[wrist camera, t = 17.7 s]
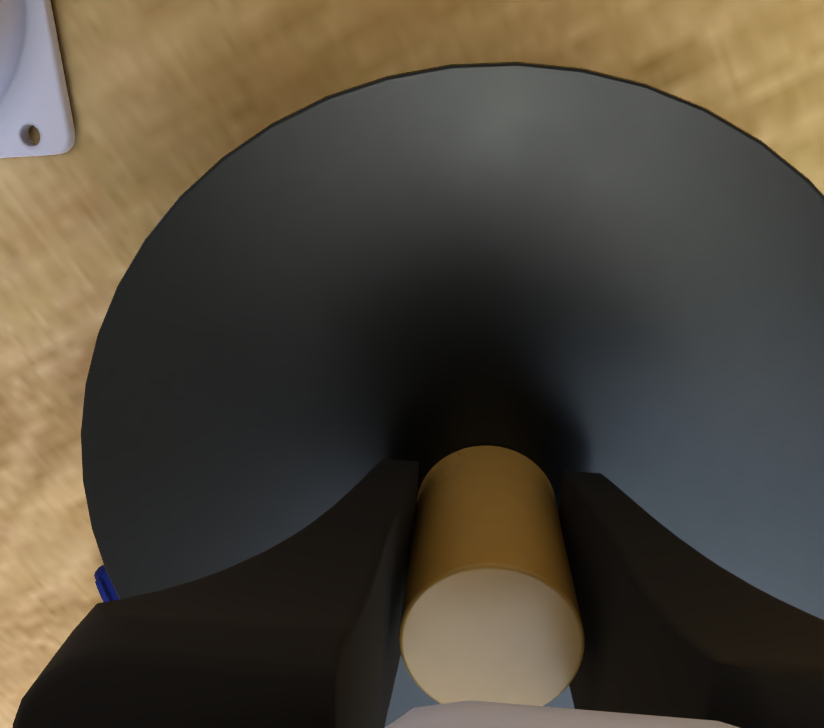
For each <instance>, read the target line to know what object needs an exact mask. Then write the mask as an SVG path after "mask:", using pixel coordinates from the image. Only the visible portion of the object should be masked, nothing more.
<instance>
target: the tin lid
mask: <svg viewBox="0 0 824 728" xmlns="http://www.w3.org/2000/svg"><path fill="white" fill-rule="evenodd" d="M81 445H82V466H83V483H84V488H85V494H86V499H87V504H88V510H89V515H90V520H91V526H92V530H93V533H94V536H95V539H96V542H97V545H98V548H99V551H100V554H101V557H102V560H103V563H104V566H105V569H106V572H107V574H108V576H109V578H110V580H111V582H112V584H113V586H114V588H115V591H116V593H117V595H118V597H119V599H123V598H128V597H132V596H137V595H142V594H146V593H151V592H155V591H160V590H163V589H167V588H171V587H174V586H178V585H181V584H184V583H187V582H191V581H194V580H197V579H200V578H203V577H206V576H208V575H211V574H214V573H217V572H219V571H222V570H225V569H227V568H229V567H231V566H233V565H236V564H238V563H240V562H242V561H245V560H247V559H249V558H251V557H253V556H256V555H258V554H260V553H262V552H264V551H266V550H268V549H270V548H272V547H274V546H275V545H277V544H279V543H281V542H282V541H284V540H286V539H288V538H289V537H291V536H293V535H294V534H296V533H297V532H299V531H300V530H302V529H303V528H305V527H306V526H308V525H309V524H311V523H312V522H313V521H314V520H316V519H317V518H318V517H320V516H321V515H322V514H323V513H325V512H326V511H327V510H329V509H330V508H331V507H332V506H333V505H334V504H336V503H337V502H338V501H339V500H340V499H341V498H342V497H343V496H345V495H346V494H347V493H348V492H349V491H350V490H351V489H352V488H353V487H354V486H355V485H356V484H357V483H358V482H359V481H360V480H362V479H363V478H364V477H365V475H366V474H367V473H368V472H369V471H370V470H371V469H372V468H373V467H374V466H375V465H376V464H378V463H379V462H380V461H381V460H382V459H391V460H406V461H419V471H418V493H417V508H416V516H415V523H414V531H413V538H412V543H411V548H410V555H409V562H408V570H407V577H406V584H405V592H404V599H403V607H402V614H401V621H400V629H399V646H400V651H401V656H400V661H399V665H398V669H397V674H396V678H395V683H394V687H393V691H392V696H391V700H390V705H389V709H388V713H387V718H386V722H385V727H387V726H388V725H389V724H391V723H392V722H394V721H395V720H397V719H398V718H400V717H401V716H402V715H404V714H405V713H407V712H408V711H410V710H411V709H413V708H415V707H423V706H430V705H438V704H446V703H453V702H461V701H469V700H471V701H484V702H496V703H508V704H520V705H532V706H544V707H556V708H568V709H575V708H574V704H573V699H572V695H571V691H570V687H569V684H570V683H571V681H572V680H573V678H574V677H575V675H576V673H577V671H578V669H579V667H580V664H581V661H582V658H583V654H584V647H585V636H584V628H583V623H582V619H581V614H580V609H579V605H578V600H577V595H576V591H575V586H574V582H573V577H572V572H571V568H570V563H569V559H568V554H567V549H566V545H565V540H564V535H563V531H562V526H561V522H560V517H559V505H560V496H561V487H562V478H563V471H574V472H589V473H601V474H602V475H604V476H605V477H606V478H608V479H609V480H610V481H611V482H613V483H614V484H615V485H616V486H617V487H618V488H620V489H621V490H622V491H623V492H624V493H625V494H626V495H628V496H629V497H630V498H631V499H632V500H633V501H634V502H636V503H637V504H638V505H639V506H640V507H641V508H643V509H644V510H645V511H646V512H647V513H649V514H650V515H651V516H652V517H653V518H655V519H656V520H657V521H658V522H659V523H661V524H662V525H663V526H664V527H666V528H667V529H668V530H670V531H671V532H672V533H673V534H675V535H676V536H677V537H679V538H680V539H681V540H683V541H684V542H685V543H687V544H688V545H690V546H691V547H692V548H694V549H695V550H697V551H698V552H699V553H701V554H702V555H704V556H705V557H707V558H708V559H710V560H711V561H713V562H714V563H716V564H717V565H719V566H720V567H722V568H724V569H725V570H727V571H729V572H730V573H732V574H734V575H736V576H737V577H739V578H741V579H742V580H744V581H746V582H747V583H749V584H751V585H753V586H754V587H756V588H758V589H760V590H762V591H764V592H766V593H768V594H769V595H771V596H773V597H775V598H777V599H779V600H781V601H784V602H786V603H788V604H790V605H792V606H794V607H796V608H798V609H800V610H803V611H805V612H807V613H809V614H811V615H813V616H816V617H818V618H820V619H823V620H824V195H823V194H822V193H821V192H820V191H819V190H818V189H817V188H816V186H815V185H814V184H813V183H812V182H811V181H810V180H809V179H808V178H807V177H805V176H804V175H803V174H802V173H800V172H799V171H798V170H797V169H796V168H794V167H793V166H792V165H791V164H789V163H788V162H787V161H786V160H784V159H783V158H782V157H781V156H779V155H778V154H777V153H776V152H774V151H773V150H772V149H771V148H770V147H768V146H767V145H766V144H765V143H763V142H762V141H761V140H759V139H757V138H756V137H754V136H752V135H751V134H749V133H747V132H746V131H744V130H742V129H740V128H739V127H737V126H735V125H734V124H732V123H730V122H728V121H727V120H725V119H723V118H722V117H720V116H718V115H717V114H715V113H713V112H711V111H710V110H708V109H706V108H704V107H702V106H699V105H697V104H694V103H692V102H689V101H687V100H684V99H682V98H679V97H677V96H674V95H672V94H669V93H667V92H664V91H662V90H659V89H657V88H655V87H652V86H650V85H647V84H644V83H640V82H636V81H632V80H628V79H624V78H619V77H615V76H611V75H607V74H603V73H599V72H595V71H591V70H587V69H583V68H574V67H564V66H554V65H544V64H534V63H524V62H499V63H474V64H451V65H445V66H440V67H434V68H429V69H423V70H418V71H412V72H407V73H401V74H396V75H390V76H386V77H383V78H380V79H377V80H374V81H371V82H368V83H365V84H362V85H359V86H356V87H353V88H350V89H347V90H344V91H341V92H338V93H335V94H331V95H328V96H326V97H324V98H322V99H320V100H318V101H316V102H314V103H312V104H310V105H308V106H306V107H304V108H302V109H300V110H298V111H296V112H294V113H292V114H290V115H288V116H286V117H284V118H282V119H280V120H278V121H276V122H274V123H272V124H270V125H269V126H267V127H266V128H264V129H263V130H262V131H260V132H259V133H257V134H256V135H254V136H253V137H251V138H250V139H248V140H247V141H245V142H244V143H243V144H241V145H240V146H238V147H237V148H235V149H234V150H232V151H231V152H229V153H228V154H227V155H225V156H224V157H222V158H221V159H220V160H219V161H218V162H217V163H216V164H215V165H214V166H213V167H211V168H210V169H209V170H208V171H207V172H206V173H205V174H204V175H203V176H202V177H201V178H200V179H198V180H197V181H196V182H195V183H194V184H193V185H192V186H191V187H190V188H189V189H188V190H187V191H185V192H184V193H183V194H182V195H181V196H180V197H179V198H178V200H177V201H176V202H175V203H174V205H173V206H172V207H171V208H170V210H169V211H168V212H167V213H166V214H165V216H164V217H163V218H162V219H161V221H160V222H159V223H158V224H157V226H156V227H155V228H154V229H153V231H152V232H151V233H150V234H149V235H148V237H147V238H146V239H145V241H144V242H143V244H142V246H141V247H140V249H139V251H138V252H137V254H136V256H135V258H134V259H133V261H132V263H131V264H130V266H129V268H128V269H127V271H126V273H125V274H124V276H123V278H122V280H121V281H120V283H119V285H118V286H117V289H116V291H115V294H114V296H113V299H112V301H111V304H110V306H109V308H108V311H107V313H106V316H105V318H104V321H103V323H102V326H101V328H100V330H99V333H98V336H97V340H96V344H95V348H94V352H93V356H92V360H91V365H90V369H89V373H88V377H87V381H86V387H85V397H84V407H83V418H82V428H81ZM385 727H384V728H385Z"/></svg>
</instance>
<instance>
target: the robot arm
mask: <svg viewBox="0 0 824 728" xmlns="http://www.w3.org/2000/svg"><path fill="white" fill-rule="evenodd" d="M32 125H33V126H35V127H36V128H37V129H38V131H39V133H40V141H39V143H38V144H37V145H35V144H34V143H33V142H32V141H31V140H30V138H29V136H28V132H29V128H30V127H31V126H32ZM74 142H75V129H74V123H73V118H72V113H71V107H70V102H69V97H68V91H67V86H66V81H65V75H64V70H63V65H62V59H61V54H60V49H59V43H58V38H57V33H56V27H55V22H54V17H53V11H52V6H51V1H50V0H0V158H10V157H27V156H44V155H58V154H63V153H66V152H68V151H69V150H70V149H71V148H72V147H73V145H74ZM418 471H419V461H406V460H391V459H382V460H381V461H380V462H379V463H378V464H376V465H375V466H374V467H373V468H372V469H371V470H370V471H369V472H368V473H367V474H366V475H365V477H364V478H363V479H362V480H360V481H359V482H358V483H357V484H356V485H355V486H354V487H353V488H352V489H351V490H350V491H349V492H348V493H347V494H346V495H345V496H343V497H342V498H341V499H340V500H339V501H338V502H337V503H336V504H334V505H333V506H332V507H331V508H330V509H329V510H327V511H326V512H325V513H323V514H322V515H321V516H320V517H318V518H317V519H316V520H314V521H313V522H312V523H311V524H309V525H308V526H306V527H305V528H303V529H302V530H300V531H299V532H297V533H296V534H294V535H293V536H291V537H289V538H288V539H286V540H284V541H282V542H281V543H279V544H277V545H275V546H274V547H272V548H270V549H268V550H266V551H264V552H262V553H260V554H258V555H256V556H253V557H251V558H249V559H247V560H245V561H242V562H240V563H238V564H236V565H233V566H231V567H229V568H227V569H225V570H222V571H219V572H217V573H214V574H211V575H208V576H206V577H203V578H200V579H197V580H194V581H191V582H187V583H184V584H181V585H178V586H174V587H171V588H167V589H163V590H160V591H155V592H151V593H146V594H142V595H137V596H132V597H128V598H123V599H119V600H114V601H109V602H103V603H97V604H96V605H95V607H94V608H93V609H92V610H91V611H90V612H89V613H88V615H87V616H86V617H85V618H84V619H83V620H82V621H81V622H80V624H79V625H78V626H77V627H76V628H75V629H74V630H73V632H72V633H71V634H70V636H69V637H68V638H67V640H66V641H65V642H64V644H63V645H62V646H61V647H60V649H59V650H58V651H57V653H56V654H55V655H54V657H53V658H52V659H51V661H50V662H49V664H48V665H47V666H46V668H45V669H44V670H43V672H42V673H41V674H40V676H39V677H38V678H37V680H36V681H35V682H34V684H33V685H32V686H31V688H30V689H29V690H28V692H27V693H26V694H25V696H24V697H23V698H22V700H21V703H20V706H19V709H18V712H17V714H16V717H15V720H14V723H13V728H384V727H385V722H386V718H387V713H388V709H389V705H390V700H391V696H392V691H393V687H394V683H395V678H396V674H397V669H398V665H399V661H400V656H401V651H400V646H399V629H400V621H401V614H402V607H403V599H404V592H405V584H406V577H407V570H408V562H409V555H410V548H411V543H412V538H413V531H414V523H415V516H416V508H417V493H418ZM559 517H560V522H561V526H562V531H563V535H564V540H565V545H566V549H567V554H568V559H569V563H570V568H571V572H572V577H573V582H574V586H575V591H576V595H577V600H578V605H579V609H580V614H581V619H582V623H583V628H584V636H585V647H584V654H583V658H582V661H581V664H580V667H579V669H578V671H577V673H576V675H575V677H574V678H573V680H572V681H571V683H570V684H569V687H570V691H571V695H572V699H573V704H574V708H575V709H568V708H556V707H544V706H532V705H520V704H508V703H496V702H484V701H471V700H469V701H461V702H453V703H446V704H438V705H430V706H423V707H415V708H413V709H411V710H410V711H408V712H407V713H405V714H404V715H402V716H401V717H400V718H398V719H397V720H395V721H394V722H392V723H391V724H389V725H388V726H387V727H385V728H824V620H823V619H820V618H818V617H816V616H813V615H811V614H809V613H807V612H805V611H803V610H800V609H798V608H796V607H794V606H792V605H790V604H788V603H786V602H784V601H781V600H779V599H777V598H775V597H773V596H771V595H769V594H768V593H766V592H764V591H762V590H760V589H758V588H756V587H754V586H753V585H751V584H749V583H747V582H746V581H744V580H742V579H741V578H739V577H737V576H736V575H734V574H732V573H730V572H729V571H727V570H725V569H724V568H722V567H720V566H719V565H717V564H716V563H714V562H713V561H711V560H710V559H708V558H707V557H705V556H704V555H702V554H701V553H699V552H698V551H697V550H695V549H694V548H692V547H691V546H690V545H688V544H687V543H685V542H684V541H683V540H681V539H680V538H679V537H677V536H676V535H675V534H673V533H672V532H671V531H670V530H668V529H667V528H666V527H664V526H663V525H662V524H661V523H659V522H658V521H657V520H656V519H655V518H653V517H652V516H651V515H650V514H649V513H647V512H646V511H645V510H644V509H643V508H641V507H640V506H639V505H638V504H637V503H636V502H634V501H633V500H632V499H631V498H630V497H629V496H628V495H626V494H625V493H624V492H623V491H622V490H621V489H620V488H618V487H617V486H616V485H615V484H614V483H613V482H611V481H610V480H609V479H608V478H606V477H605V476H604V475H602V474H601V473H589V472H574V471H563V478H562V487H561V496H560V505H559Z"/></svg>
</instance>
